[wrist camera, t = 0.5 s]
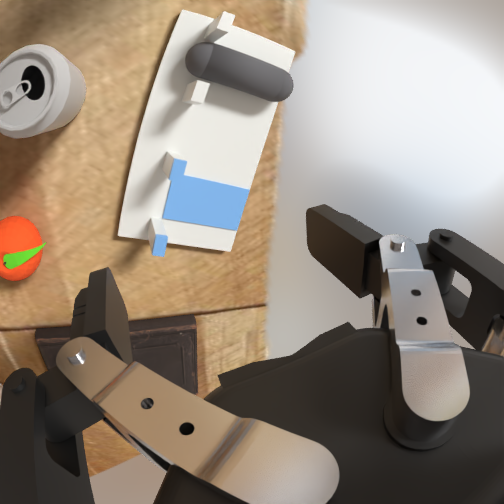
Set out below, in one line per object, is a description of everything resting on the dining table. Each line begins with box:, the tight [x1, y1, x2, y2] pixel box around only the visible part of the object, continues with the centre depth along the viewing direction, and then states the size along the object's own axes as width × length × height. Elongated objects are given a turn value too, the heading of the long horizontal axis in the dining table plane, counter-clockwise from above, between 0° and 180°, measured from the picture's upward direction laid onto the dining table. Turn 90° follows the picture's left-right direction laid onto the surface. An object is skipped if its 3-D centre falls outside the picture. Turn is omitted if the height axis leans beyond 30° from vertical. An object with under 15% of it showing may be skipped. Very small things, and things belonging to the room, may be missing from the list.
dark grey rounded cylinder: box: [185, 42, 293, 102], centre depth 28 cm, size 12×4×4 cm, turn 71°
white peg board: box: [118, 9, 295, 257], centre depth 30 cm, size 26×14×7 cm, turn 161°
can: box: [0, 44, 86, 138], centre depth 19 cm, size 8×8×12 cm
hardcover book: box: [35, 314, 198, 395], centre depth 41 cm, size 16×23×2 cm
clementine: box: [0, 216, 47, 281], centre depth 26 cm, size 8×7×7 cm
